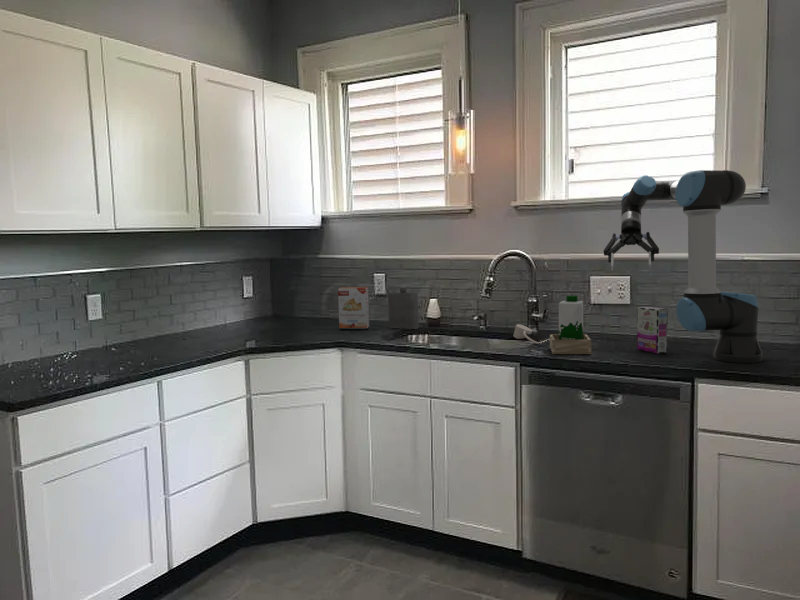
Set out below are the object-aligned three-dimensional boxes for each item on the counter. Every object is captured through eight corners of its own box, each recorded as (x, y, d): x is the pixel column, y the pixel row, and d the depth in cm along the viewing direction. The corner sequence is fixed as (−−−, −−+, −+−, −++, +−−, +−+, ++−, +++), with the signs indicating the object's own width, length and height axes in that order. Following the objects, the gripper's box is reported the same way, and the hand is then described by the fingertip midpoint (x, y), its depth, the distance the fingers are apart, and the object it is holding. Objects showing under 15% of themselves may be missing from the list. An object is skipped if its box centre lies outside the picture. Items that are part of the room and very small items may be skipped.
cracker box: (339, 330, 330) (337, 288, 328) (342, 328, 336) (340, 287, 334) (367, 330, 328) (365, 287, 326) (369, 328, 334) (368, 286, 332)
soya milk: (585, 347, 260) (584, 295, 258) (580, 351, 252) (580, 298, 250) (562, 346, 264) (561, 295, 261) (556, 350, 255) (556, 297, 253)
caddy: (591, 354, 250) (591, 340, 249) (552, 354, 252) (552, 340, 251) (586, 348, 264) (586, 334, 263) (549, 348, 266) (549, 334, 265)
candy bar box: (668, 352, 249) (668, 308, 247) (657, 354, 247) (657, 309, 246) (646, 348, 259) (647, 305, 258) (636, 349, 258) (636, 306, 256)
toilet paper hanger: (539, 342, 276) (505, 327, 285) (535, 353, 278) (502, 338, 286) (559, 335, 292) (527, 321, 301) (556, 346, 294) (524, 331, 302)
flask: (420, 327, 331) (419, 287, 329) (416, 329, 326) (415, 288, 323) (392, 327, 336) (390, 287, 334) (387, 329, 331) (386, 288, 329)
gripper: (664, 230, 267) (666, 272, 255) (599, 233, 276) (597, 274, 264) (664, 217, 261) (666, 260, 250) (597, 220, 270) (596, 262, 258)
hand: (630, 267), depth 257 cm, fingers open, 13 cm apart
